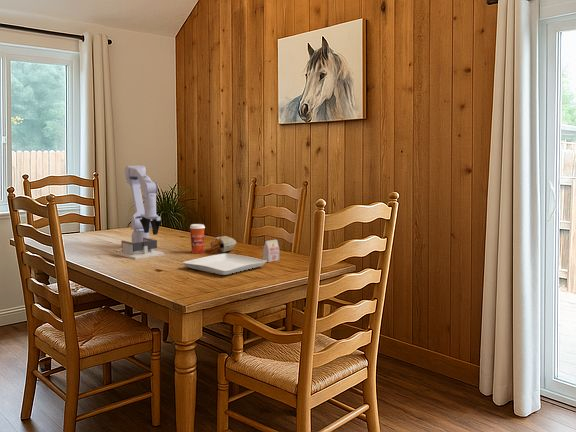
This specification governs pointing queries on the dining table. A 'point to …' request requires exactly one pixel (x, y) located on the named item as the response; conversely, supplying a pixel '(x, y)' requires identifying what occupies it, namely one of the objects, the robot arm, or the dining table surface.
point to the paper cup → (197, 238)
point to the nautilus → (222, 244)
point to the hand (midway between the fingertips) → (150, 233)
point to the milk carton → (271, 251)
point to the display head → (138, 252)
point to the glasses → (142, 244)
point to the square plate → (224, 263)
